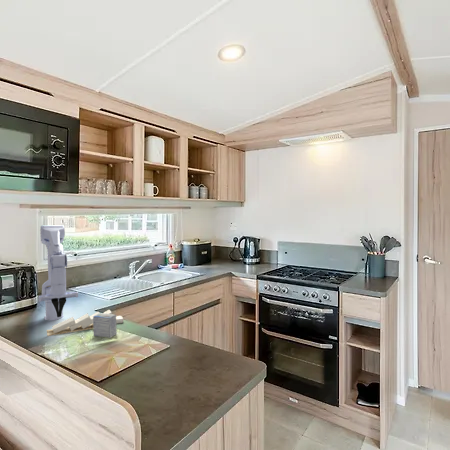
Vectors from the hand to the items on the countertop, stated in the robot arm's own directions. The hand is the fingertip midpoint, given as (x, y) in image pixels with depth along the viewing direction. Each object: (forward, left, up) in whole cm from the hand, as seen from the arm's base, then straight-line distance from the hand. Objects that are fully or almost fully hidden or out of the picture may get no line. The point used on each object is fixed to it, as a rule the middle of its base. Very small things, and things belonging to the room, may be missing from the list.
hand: (59, 316), depth 138 cm
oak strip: (0, +7, -7) cm, 10 cm away
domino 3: (0, +8, -5) cm, 10 cm away
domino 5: (0, +17, -5) cm, 18 cm away
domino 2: (0, +4, -5) cm, 7 cm away
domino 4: (0, +13, -5) cm, 14 cm away
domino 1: (0, -2, -5) cm, 6 cm away
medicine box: (+14, +15, -7) cm, 22 cm away
